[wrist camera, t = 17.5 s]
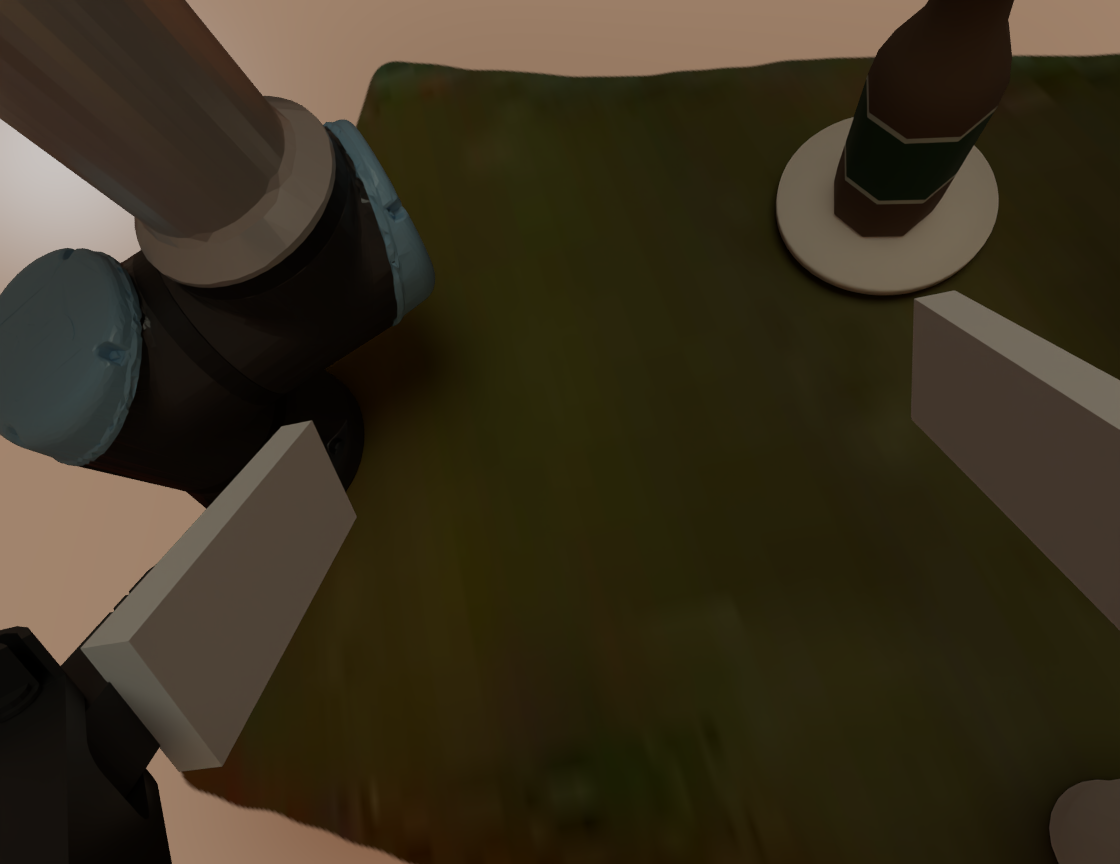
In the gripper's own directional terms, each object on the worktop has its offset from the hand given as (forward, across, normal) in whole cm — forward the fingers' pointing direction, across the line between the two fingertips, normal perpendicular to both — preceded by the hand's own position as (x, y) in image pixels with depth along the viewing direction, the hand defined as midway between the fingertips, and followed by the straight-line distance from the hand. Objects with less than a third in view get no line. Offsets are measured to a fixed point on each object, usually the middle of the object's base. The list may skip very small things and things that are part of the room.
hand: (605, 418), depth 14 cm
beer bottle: (+41, +22, -6) cm, 47 cm away
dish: (+42, +22, -8) cm, 49 cm away
